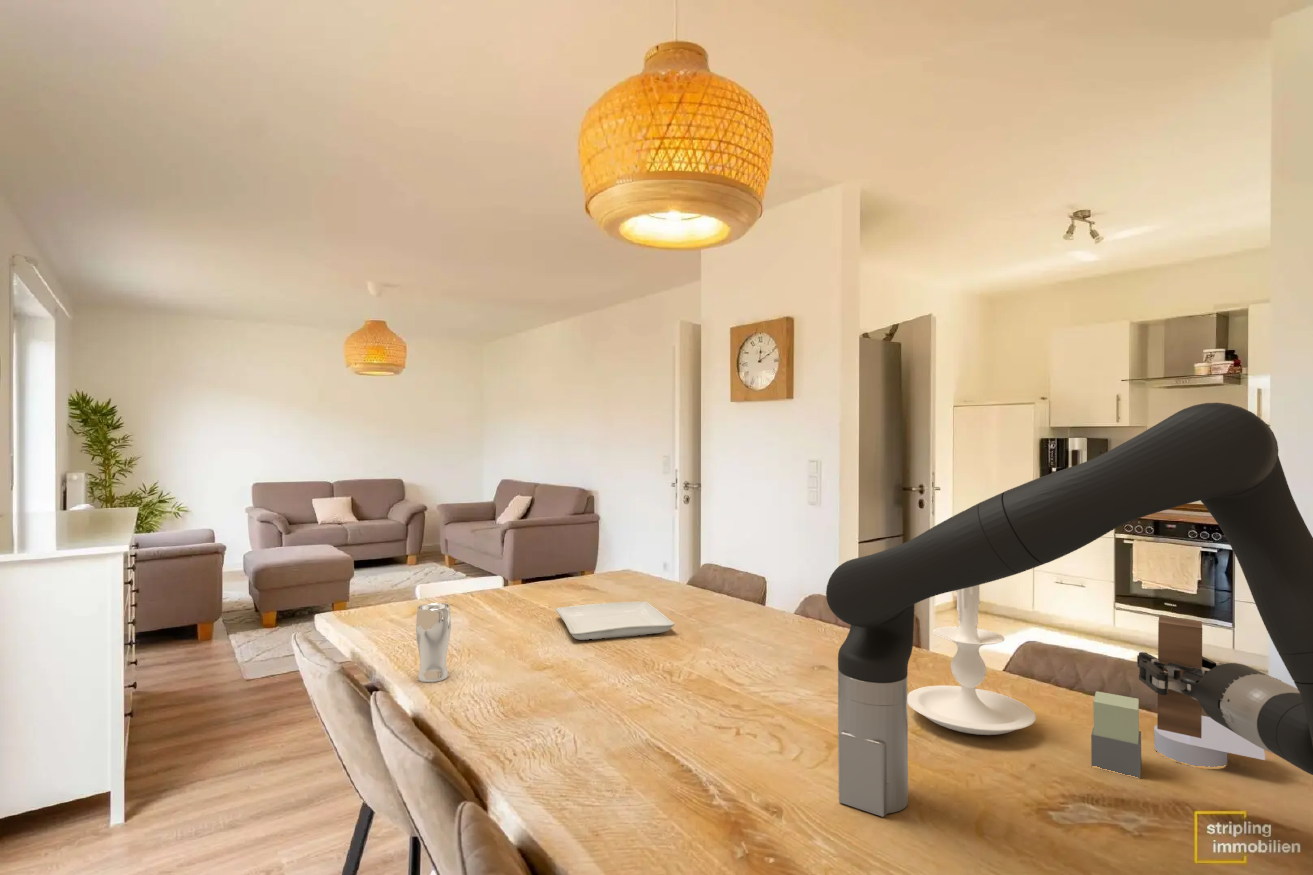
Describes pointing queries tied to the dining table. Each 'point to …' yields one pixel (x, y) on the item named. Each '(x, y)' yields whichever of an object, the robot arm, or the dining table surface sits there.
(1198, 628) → the walnut pillar
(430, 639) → the beer glass
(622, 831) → the dining table surface
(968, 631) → the candlestick
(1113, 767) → the tower base
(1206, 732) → the wedge on round base
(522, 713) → the dining table surface
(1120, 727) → the tower top
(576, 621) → the square plate
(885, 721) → the robot arm
